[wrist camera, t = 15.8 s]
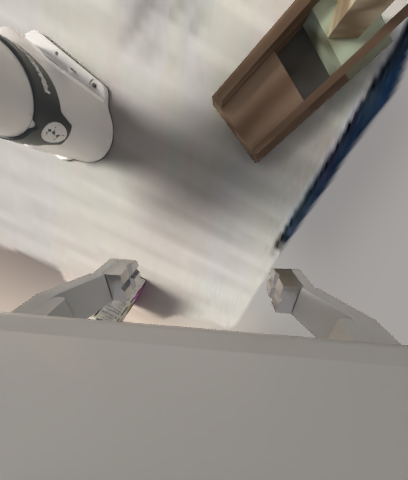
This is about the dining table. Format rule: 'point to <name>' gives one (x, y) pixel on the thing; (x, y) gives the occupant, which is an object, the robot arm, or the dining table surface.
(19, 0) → the dining table surface
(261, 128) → the channel deck
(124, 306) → the candy bar box
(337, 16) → the beech block
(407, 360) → the robot arm
